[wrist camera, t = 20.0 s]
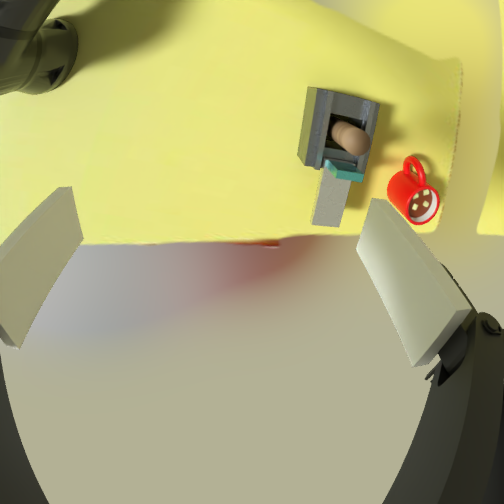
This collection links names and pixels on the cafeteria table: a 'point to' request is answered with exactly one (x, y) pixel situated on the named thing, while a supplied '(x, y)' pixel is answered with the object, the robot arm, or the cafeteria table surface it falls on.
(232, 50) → the cafeteria table surface
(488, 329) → the robot arm
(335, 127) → the dowel
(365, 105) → the mount
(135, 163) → the cafeteria table surface
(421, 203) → the mug
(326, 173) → the grey teal l-shaped bracket
